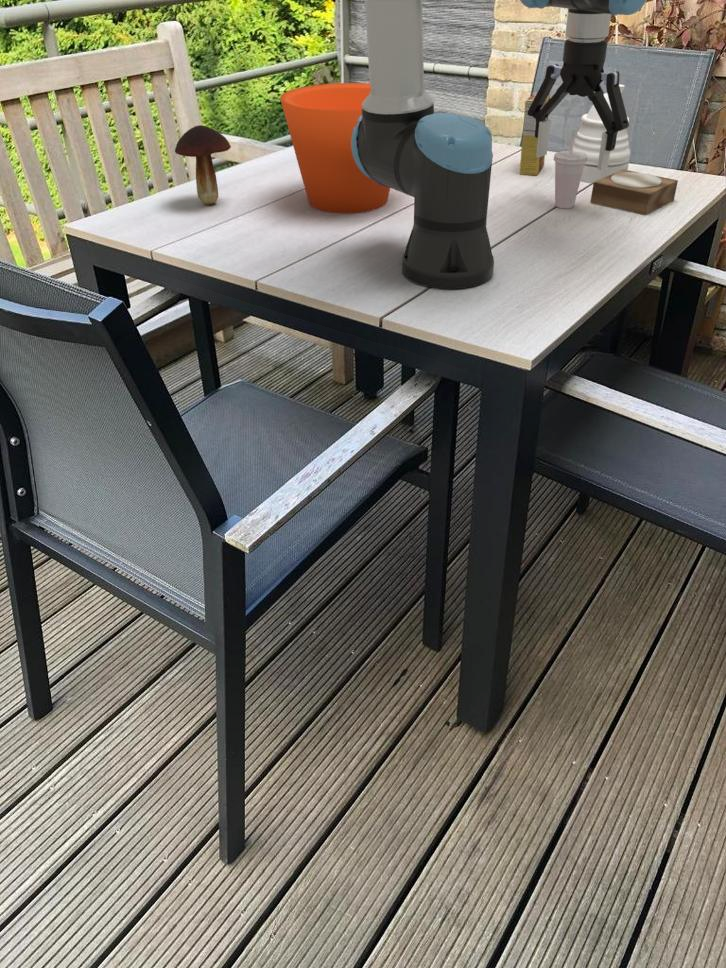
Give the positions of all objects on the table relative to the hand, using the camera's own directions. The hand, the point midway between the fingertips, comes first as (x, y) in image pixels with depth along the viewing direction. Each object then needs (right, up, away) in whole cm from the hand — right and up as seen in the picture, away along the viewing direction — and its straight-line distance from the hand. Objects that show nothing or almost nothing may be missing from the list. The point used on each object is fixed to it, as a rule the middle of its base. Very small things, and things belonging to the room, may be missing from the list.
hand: (571, 161), depth 160 cm
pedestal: (+14, -6, +6) cm, 16 cm away
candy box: (-3, +8, +25) cm, 27 cm away
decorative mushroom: (-72, -6, +8) cm, 72 cm away
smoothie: (0, -7, +5) cm, 9 cm away
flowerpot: (-44, -5, +9) cm, 45 cm away
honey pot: (+11, +5, +22) cm, 25 cm away
